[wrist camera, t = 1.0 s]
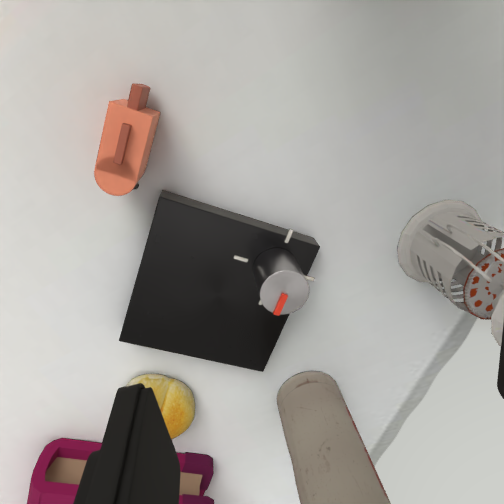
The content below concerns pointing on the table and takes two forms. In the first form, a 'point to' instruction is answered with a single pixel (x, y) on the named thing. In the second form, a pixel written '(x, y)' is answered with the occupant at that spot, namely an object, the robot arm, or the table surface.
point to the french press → (457, 258)
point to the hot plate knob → (280, 281)
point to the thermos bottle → (326, 444)
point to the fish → (126, 142)
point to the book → (73, 463)
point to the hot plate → (208, 284)
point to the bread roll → (170, 401)
